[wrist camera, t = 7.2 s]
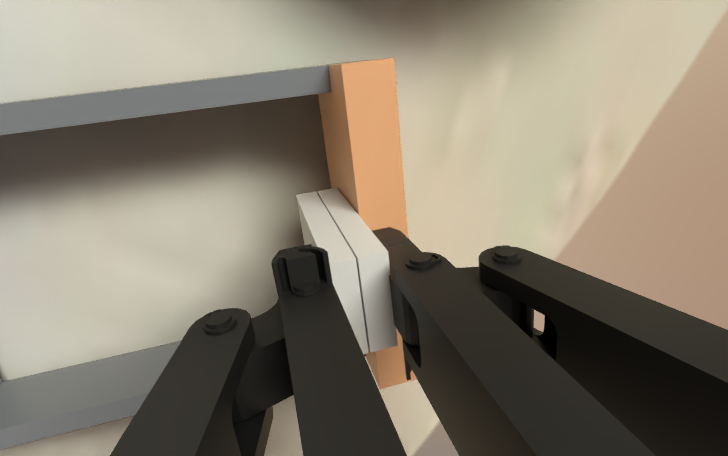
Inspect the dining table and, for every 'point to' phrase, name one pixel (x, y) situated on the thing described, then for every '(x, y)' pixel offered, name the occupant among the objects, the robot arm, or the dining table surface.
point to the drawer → (331, 82)
